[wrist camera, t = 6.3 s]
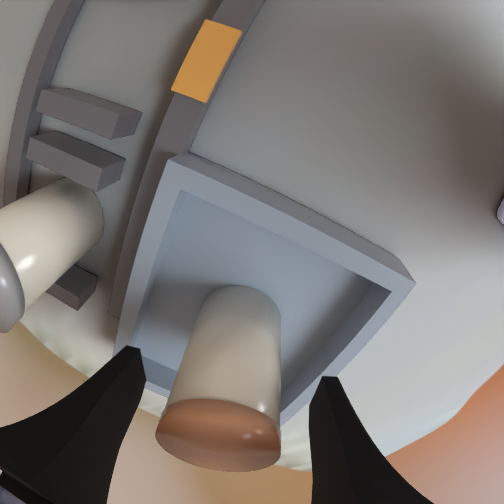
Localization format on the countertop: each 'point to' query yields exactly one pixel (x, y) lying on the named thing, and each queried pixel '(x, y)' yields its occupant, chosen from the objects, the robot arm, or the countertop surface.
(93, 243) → the fuse
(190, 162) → the tray
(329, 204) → the countertop surface
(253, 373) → the cylinder
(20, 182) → the clip rail
